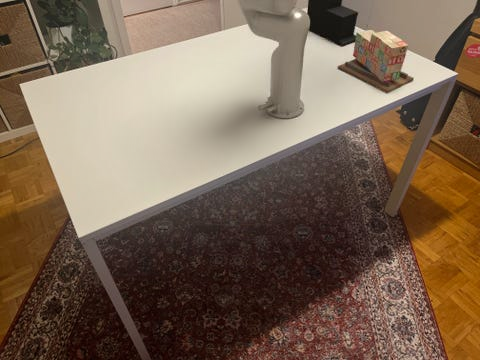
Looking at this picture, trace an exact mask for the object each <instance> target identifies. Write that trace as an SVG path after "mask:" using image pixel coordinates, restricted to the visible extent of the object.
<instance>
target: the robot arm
mask: <svg viewBox="0 0 480 360" xmlns="http://www.w3.org/2000/svg"><path fill="white" fill-rule="evenodd" d="M237 2H238V5H239V8H240V10H241V13H242V15H243V16H244V20H245V22H246V24H247V27H248V29H249V30H250V31H251V33H253V35H255V36H257V37H259V38H260V37H261V38H262V39H267V40H271V41H274V42H277V43H278V46H277V47H276V48H275V49H274V50H273V51H272V53H271V57H270V90H269V91H270V94H269V95H270V96H268V97H267V101H265V103H262V104H260V105H258V106H257V108H258V111H260V112H263V111H266V113H267V114H269V115H271V116H272V117H274V118H279V119H293V118H295V117H298V116H300V115H301V114H302V113H303V111H304V110H305V104H304V102H303V101H302V100H301V89H302V88H301V87H302V78H303V64H304V54H305V47H306V43H307V39H308V34H309V32H310V31H309V27H310V18H309V16H308V14H307V12H306V11H305V10H304V9H301V8H300V7H296V5H297V2H298V0H237Z"/></svg>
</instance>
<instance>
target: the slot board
mask: <svg viewBox="0 0 480 360" xmlns="http://www.w3.org/2000/svg"><path fill="white" fill-rule="evenodd" d="M337 70H339V71H341V72H344V73H346V74H348V75H349V76H352V77H353V78H356V79H357V80H360V81H361V82H363V83H366V85H367V84H368V85H369V86H372V87H373V88H376V89H377V90H379V91H381V92H383V93H385V94H388V93H391V92H393V91H395V90H397V89H400V88H401V87H403V86H405V85H408V84H409V83H411V82H413V81H414V79H415V78H414V77H412V76H410V75H409V74H408V73H406V72H404V71H402V70H401V72H400V76H399V79H397V80H391V81H387V82H382V81H381V80H380V79H379V78H378V77H376V76H375V75H374V74H373V73H372V72H371V71H370V70H369V69H367V68H366V67H365V66H364V65H363V64H362V63H361V62H359V61H358V60H357V59H356V58H355V59H352V60H349V61H345V62H344V63H342V64H340V65H339V64H338V66H337Z"/></svg>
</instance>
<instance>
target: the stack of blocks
mask: <svg viewBox="0 0 480 360" xmlns="http://www.w3.org/2000/svg"><path fill="white" fill-rule="evenodd" d="M355 35H356V39H355V40H356V41H355V42H354V46H353V54H352V56H353V58H355V59H357V60H358V61H359V62H361V63H362V64H363V65H364V66H365V67H366V68H367V69H369V70H370V71H371V72H372V73H373V74H374V75H375V76H376V77H378V78H379V79H380V80H381V81H382V82H387V81H391V80H397V79H399V76H400V72H401V71H402V68H403V65H404V62H405V58H406V55H407V52H408V49H409V44H408V43H406V42H405V41H404V40H403V39H401V38H400V37H398V36H397V35H394V34H393V33H391V32H390V31H388V30H383V31H378V32H376V31H374V30H372V29H369V30H368V29H367V30H362V31H357V32H356V34H355Z"/></svg>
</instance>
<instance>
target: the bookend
mask: <svg viewBox="0 0 480 360" xmlns="http://www.w3.org/2000/svg"><path fill="white" fill-rule="evenodd" d="M342 4H343V0H307V12H306V13H307V14H308V16H309V18H310V27H309V32H312V33H313V34H315V35H318V36H320V37H321V38H324V39H325V40H327V41H330V42H331V43H334V44H336V45H338V46H340V47H346V46H347V45H350V44H355V41H356V40H355V39H356V34H355V31H356V30H355V29H356V25H357V20H358V19H357V18H358V15H359V11H356V10H353V9H351V8H348V7H346V6H345V5H342Z"/></svg>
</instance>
